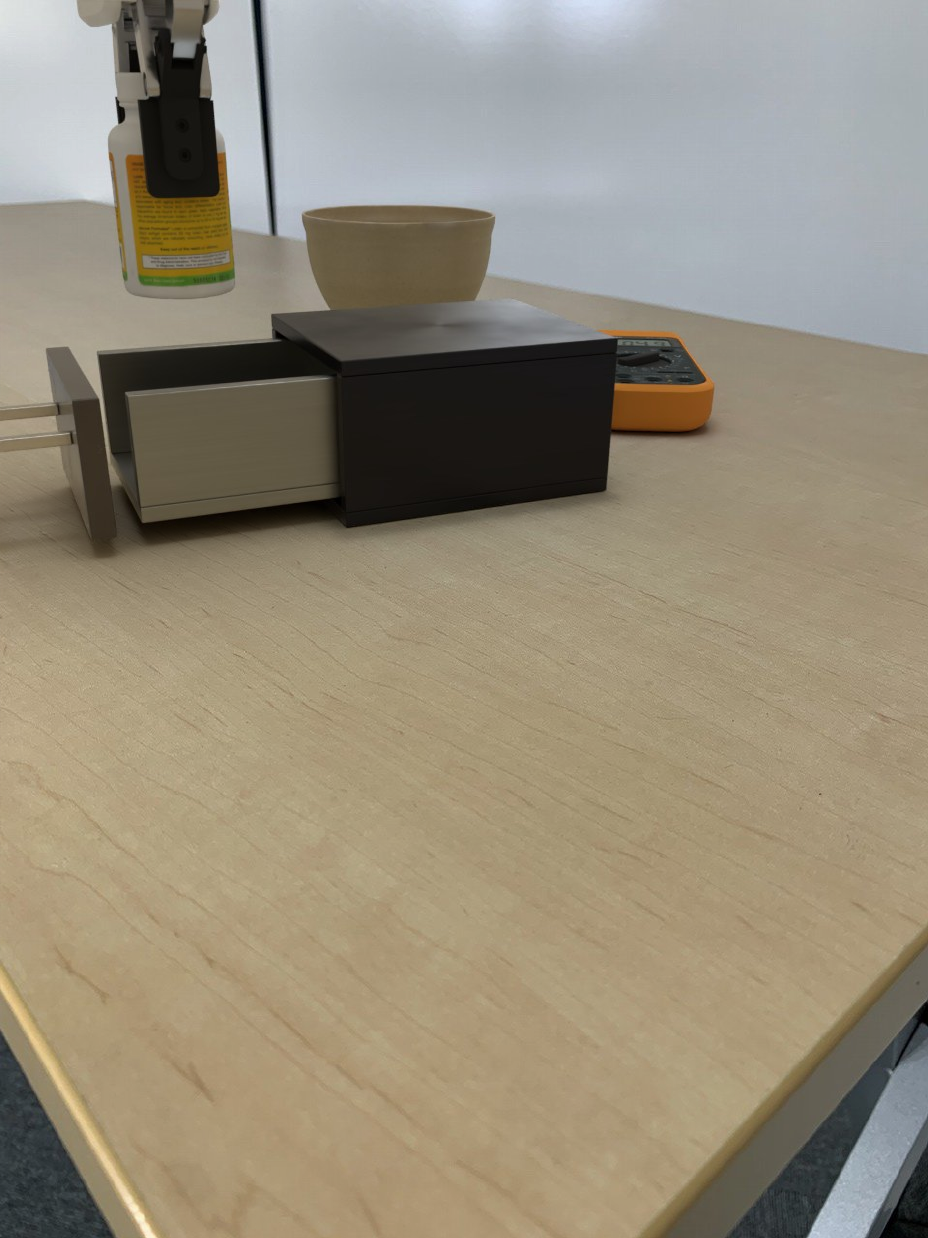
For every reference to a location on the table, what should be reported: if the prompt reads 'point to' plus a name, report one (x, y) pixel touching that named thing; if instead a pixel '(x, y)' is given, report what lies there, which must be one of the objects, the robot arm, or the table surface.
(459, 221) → the planter bowl
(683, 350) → the multimeter
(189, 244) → the supplement bottle
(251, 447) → the sliding drawer
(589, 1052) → the table surface
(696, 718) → the table surface
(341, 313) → the dark drawer cabinet
